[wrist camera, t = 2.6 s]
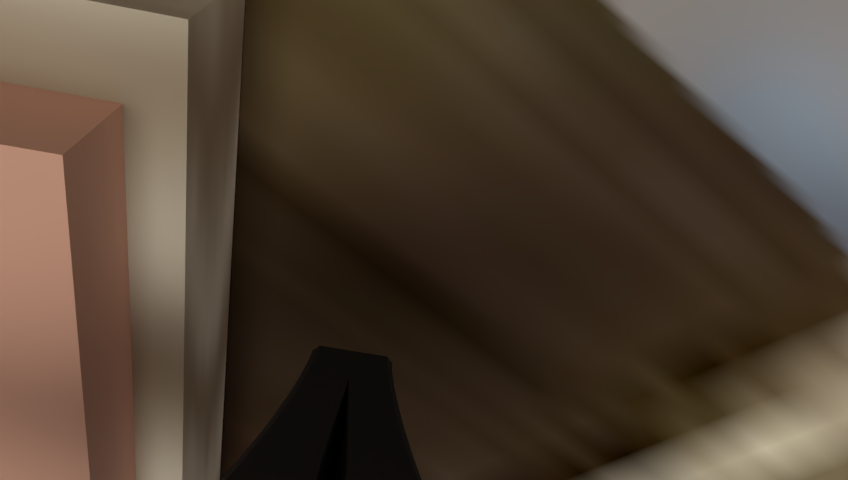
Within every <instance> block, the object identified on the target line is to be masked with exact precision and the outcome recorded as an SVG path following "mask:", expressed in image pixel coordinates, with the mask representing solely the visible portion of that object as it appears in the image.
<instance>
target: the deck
mask: <svg viewBox="0 0 848 480" xmlns="http://www.w3.org/2000/svg"><path fill="white" fill-rule="evenodd" d="M244 12H245V0H0V81H1V82H6V83H12V84H17V85H23V86H28V87H34V88H39V89H45V90H50V91H56V92H61V93H67V94H72V95H78V96H84V97H89V98H95V99H100V100H106V101H111V102H117V103H122V104H123V130H124V157H125V185H126V213H127V240H128V268H129V296H130V323H131V351H132V379H133V407H134V434H135V462H136V480H220V464H221V446H222V427H223V408H224V389H225V370H226V351H227V332H228V314H229V295H230V276H231V257H232V238H233V219H234V200H235V182H236V163H237V144H238V125H239V106H240V87H241V68H242V50H243V31H244Z"/></svg>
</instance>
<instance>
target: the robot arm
mask: <svg viewBox="0 0 848 480" xmlns="http://www.w3.org/2000/svg"><path fill="white" fill-rule="evenodd" d="M221 480H421V477H420V475H419V472H418V469H417V466H416V464H415V461H414V458H413V455H412V452H411V449H410V446H409V442H408V439H407V436H406V433H405V430H404V426H403V423H402V419H401V415H400V411H399V407H398V403H397V398H396V393H395V388H394V382H393V375H392V362H391V361H390V360H389V359H388V357H386V356H380V355H373V354H367V353H361V352H355V351H348V350H342V349H336V348H330V347H324V346H319V347H317V348H316V349H314V350H313V351H312V354H311V356H310V359H309V361H308V363H307V365H306V366H305V368H304V370H303V372H302V374H301V376H300V377H299V379H298V381H297V382H296V384H295V385H294V387H293V388H292V390H291V392H290V393H289V395H288V396H287V398H286V399H285V401H284V402H283V403H282V405H281V406H280V407H279V409H278V410H277V412H276V413H275V414H274V416H273V417H272V419H271V420H270V421H269V423H268V424H267V425H266V427H265V428H264V429H263V431H262V432H261V433H260V434H259V436H258V437H257V438H256V439H255V440H254V442H253V443H252V444H251V445H250V446H249V448H248V449H247V450H246V451H245V452H244V454H243V455H242V456H241V457H240V459H239V460H238V461H237V462H236V463H235V464H234V465H233V466H232V468H231V469H230V470H229V471H228V472H227V473H226V474H225V475H224V476H223V477H222V479H221Z"/></svg>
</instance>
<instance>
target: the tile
mask: <svg viewBox="0 0 848 480" xmlns="http://www.w3.org/2000/svg"><path fill="white" fill-rule="evenodd" d="M0 480H136V462H135V434H134V407H133V379H132V351H131V323H130V296H129V268H128V240H127V213H126V185H125V157H124V130H123V104H122V103H117V102H111V101H106V100H100V99H95V98H89V97H84V96H78V95H72V94H67V93H61V92H56V91H50V90H45V89H39V88H34V87H28V86H23V85H17V84H12V83H6V82H1V81H0Z"/></svg>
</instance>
